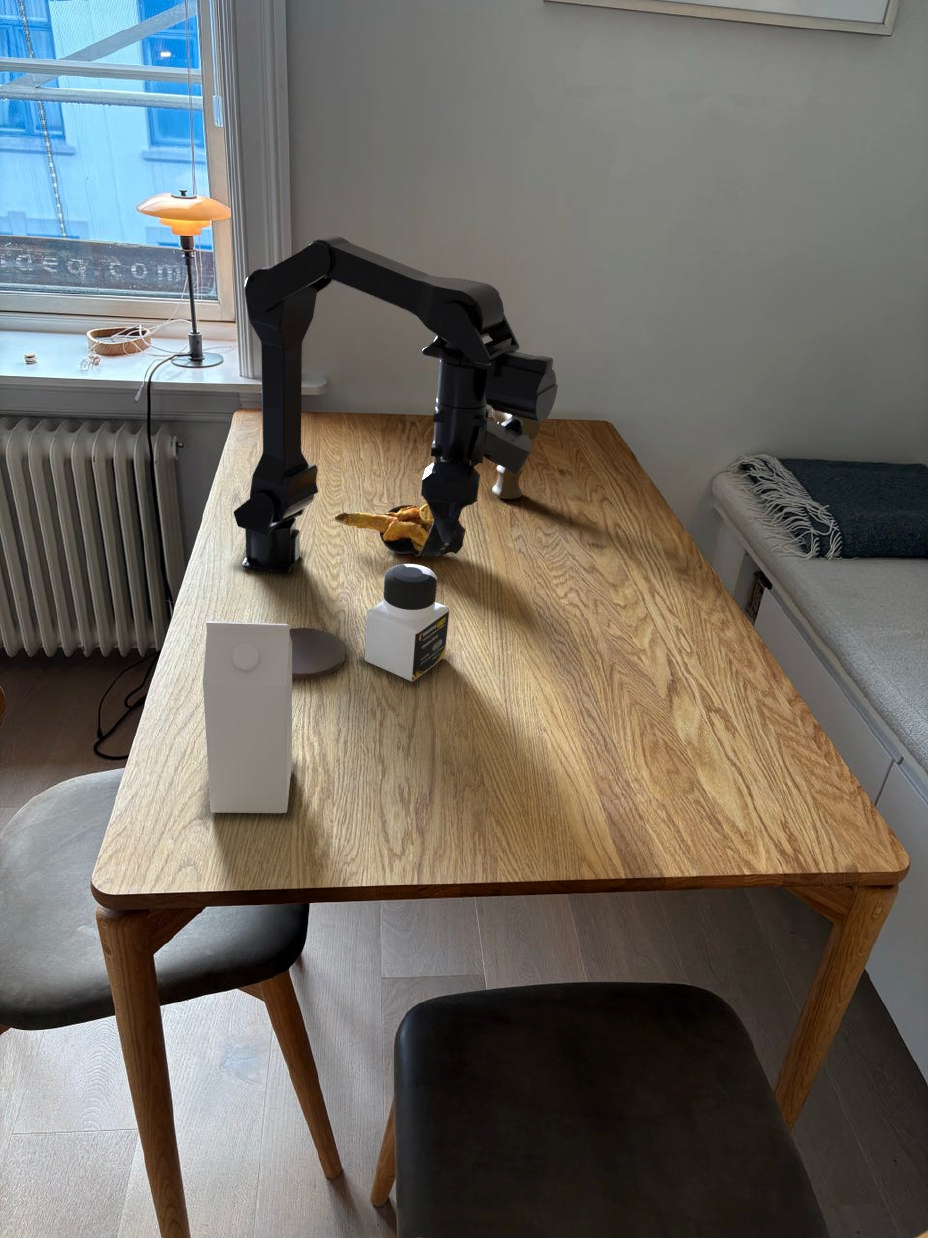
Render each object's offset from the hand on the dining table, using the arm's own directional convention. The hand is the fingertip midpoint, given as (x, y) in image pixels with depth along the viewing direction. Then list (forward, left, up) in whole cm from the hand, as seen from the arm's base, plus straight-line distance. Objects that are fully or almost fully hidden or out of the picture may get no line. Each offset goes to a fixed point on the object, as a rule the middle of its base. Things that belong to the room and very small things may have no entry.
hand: (450, 524), depth 116 cm
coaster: (-15, -12, -14) cm, 24 cm away
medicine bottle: (-3, -10, -14) cm, 17 cm away
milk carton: (-14, -36, -14) cm, 41 cm away
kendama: (+6, +43, -14) cm, 46 cm away
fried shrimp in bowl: (-8, +19, -14) cm, 25 cm away
